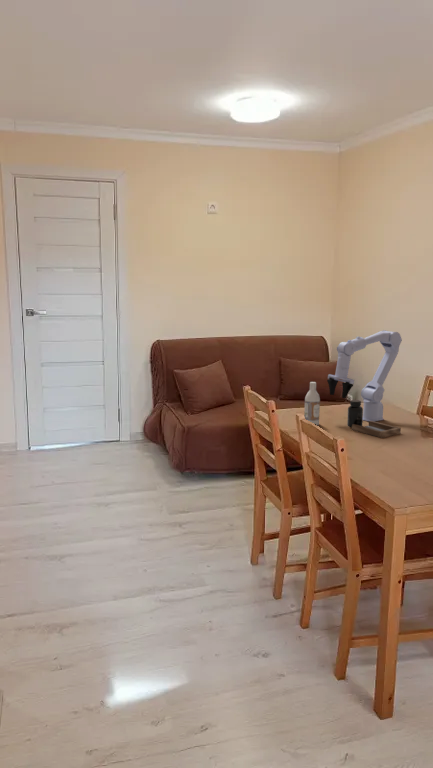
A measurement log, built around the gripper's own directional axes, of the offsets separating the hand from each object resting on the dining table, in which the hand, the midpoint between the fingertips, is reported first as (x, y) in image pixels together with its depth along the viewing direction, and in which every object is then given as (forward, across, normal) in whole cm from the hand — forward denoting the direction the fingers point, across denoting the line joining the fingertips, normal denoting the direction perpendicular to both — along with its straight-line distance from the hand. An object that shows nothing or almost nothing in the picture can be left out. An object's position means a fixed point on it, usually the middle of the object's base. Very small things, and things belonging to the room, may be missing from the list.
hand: (337, 396), depth 275 cm
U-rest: (+12, +20, +5) cm, 24 cm away
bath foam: (+15, -5, -9) cm, 18 cm away
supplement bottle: (+12, +9, +5) cm, 16 cm away
